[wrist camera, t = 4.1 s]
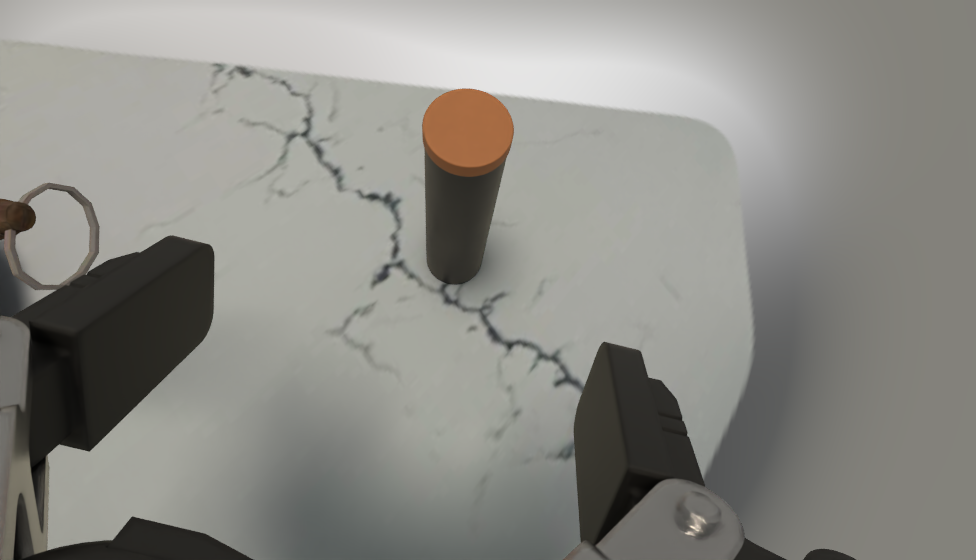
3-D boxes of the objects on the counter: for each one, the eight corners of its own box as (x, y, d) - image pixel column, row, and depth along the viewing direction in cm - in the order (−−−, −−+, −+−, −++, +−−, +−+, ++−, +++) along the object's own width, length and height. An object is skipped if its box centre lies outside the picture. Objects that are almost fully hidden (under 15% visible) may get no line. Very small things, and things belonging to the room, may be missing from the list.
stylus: (491, 245, 28) (527, 109, 18) (469, 294, 27) (492, 181, 17) (440, 223, 28) (445, 75, 18) (415, 271, 27) (406, 145, 17)
